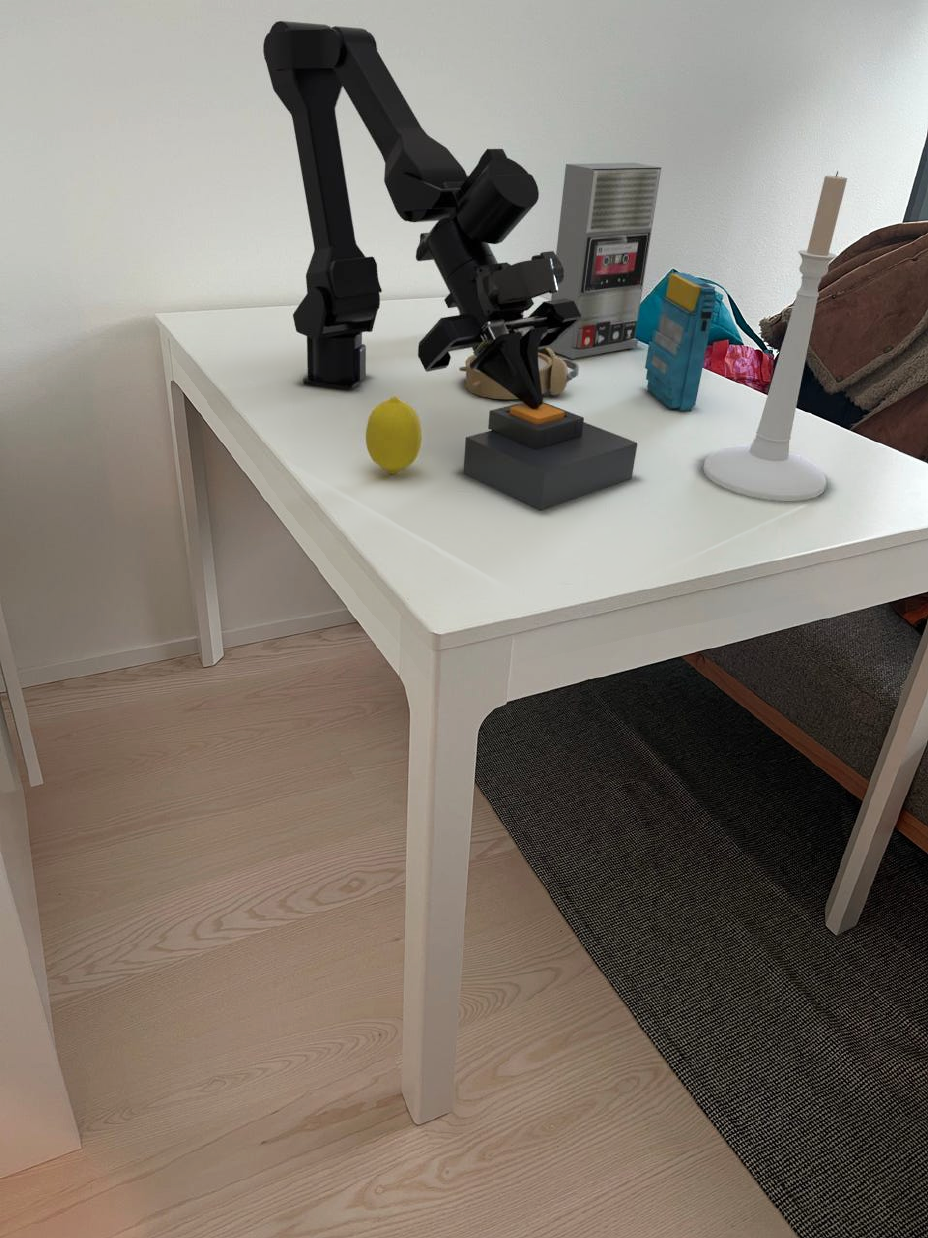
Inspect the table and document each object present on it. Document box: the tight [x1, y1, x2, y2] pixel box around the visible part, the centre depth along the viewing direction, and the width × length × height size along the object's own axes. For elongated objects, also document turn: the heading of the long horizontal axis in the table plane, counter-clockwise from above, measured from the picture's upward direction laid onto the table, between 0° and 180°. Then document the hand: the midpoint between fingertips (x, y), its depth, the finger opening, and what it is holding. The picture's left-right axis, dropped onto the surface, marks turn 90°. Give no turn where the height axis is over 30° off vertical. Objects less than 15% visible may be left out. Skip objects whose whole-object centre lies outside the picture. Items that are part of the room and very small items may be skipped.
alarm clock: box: [459, 347, 580, 400], centre depth 122 cm, size 11×5×15 cm
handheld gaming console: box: [644, 271, 717, 413], centre depth 119 cm, size 10×4×15 cm, turn 12°
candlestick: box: [702, 170, 848, 502], centre depth 94 cm, size 13×13×30 cm
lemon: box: [365, 396, 423, 475], centre depth 94 cm, size 6×6×8 cm
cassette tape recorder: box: [549, 162, 662, 360], centre depth 135 cm, size 14×6×25 cm, turn 129°
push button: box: [462, 401, 638, 512], centre depth 97 cm, size 12×14×6 cm
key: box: [509, 402, 564, 425], centre depth 97 cm, size 4×4×2 cm
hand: (537, 406), depth 96 cm, fingers closed, pressing on key
